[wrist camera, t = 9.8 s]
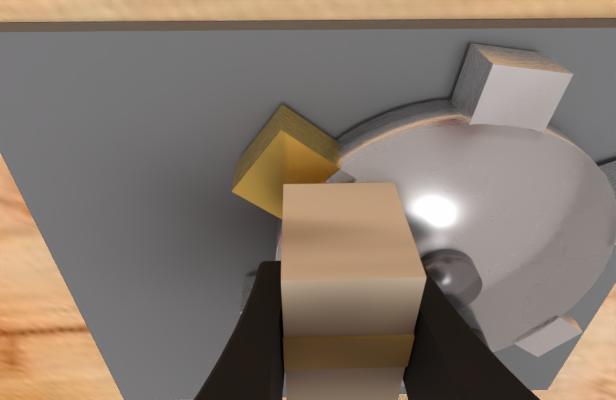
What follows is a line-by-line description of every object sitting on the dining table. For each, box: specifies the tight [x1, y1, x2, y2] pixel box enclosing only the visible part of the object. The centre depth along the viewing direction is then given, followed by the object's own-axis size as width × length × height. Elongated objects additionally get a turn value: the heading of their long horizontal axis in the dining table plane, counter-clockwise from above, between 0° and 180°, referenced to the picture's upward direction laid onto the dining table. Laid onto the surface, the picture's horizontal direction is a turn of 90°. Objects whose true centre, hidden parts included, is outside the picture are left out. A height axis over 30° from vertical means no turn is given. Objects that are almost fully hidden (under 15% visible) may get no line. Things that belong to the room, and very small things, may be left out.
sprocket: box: [232, 43, 616, 387], centre depth 15 cm, size 16×14×5 cm
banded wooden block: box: [281, 182, 427, 400], centre depth 12 cm, size 5×3×4 cm, turn 0°
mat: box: [0, 18, 616, 400], centre depth 19 cm, size 20×24×1 cm
